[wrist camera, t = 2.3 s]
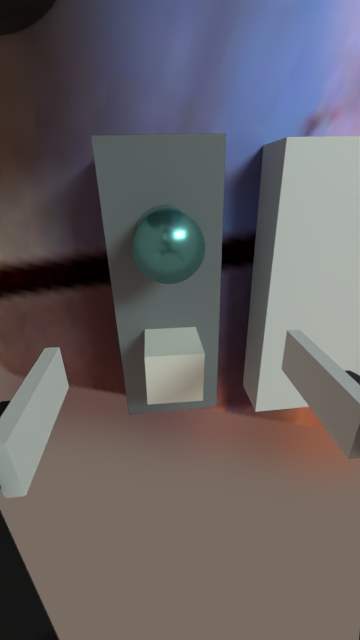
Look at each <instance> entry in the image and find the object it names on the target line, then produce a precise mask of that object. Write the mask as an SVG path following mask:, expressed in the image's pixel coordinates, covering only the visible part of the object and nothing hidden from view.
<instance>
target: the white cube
mask: <svg viewBox="0 0 360 640" xmlns="http://www.w3.org/2000/svg"><path fill="white" fill-rule="evenodd" d="M144 357H145V373H146V389H147V404H148V405H149V404H163V403H177V402H190V401H203V384H204V361H205V353H204V350H203V347H202V344H201V341H200V338H199V335H198V332H197V329H196V327H184V328H163V329H145V356H144Z"/></svg>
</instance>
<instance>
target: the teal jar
mask: <svg viewBox="0 0 360 640" xmlns="http://www.w3.org/2000/svg"><path fill="white" fill-rule="evenodd" d="M133 254H134V258H135V261H136V263H137V265H138V267H139V269H140V270H141V271H142V272H143V273H144V274H145V275H146V276H147V277H148V278H150V279H152V280H153V281H156V282H159V283H163V284H175V283H179V282H182V281H185V280H186V279H188V278H190V277H191V276H192V275H193V274H194V273H195V272H196V271H197V270H198V269H199V267H200V266H201V264H202V261H203V259H204V255H205V240H204V236H203V233H202V231H201V229H200V227H199V226H198V225H197V223H196V222H195V221H194V220H193V219H191V218H190V217H189V216H188V215H186V214H185V213H184V212H183V211H181V210H180V209H178V208H176V207H173V206H169V205H160V206H156V207H154V208H151V209H150V210H148V211H147V212H146V213H145V214H144V215H143V216H142V217H141V219H140V221H139V223H138V226H137V229H136V233H135V237H134V241H133Z"/></svg>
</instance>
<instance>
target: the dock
mask: <svg viewBox="0 0 360 640" xmlns="http://www.w3.org/2000/svg"><path fill="white" fill-rule="evenodd" d="M298 329H300V330H301V331H302V332H303V333H304V334H305V335H306V336H307V337H308V338H309V339H310V340H311V341H313V342H314V343H315V344H316V345H317V346H318V347H319V348H320V349H321V350H322V351H323V352H325V353H326V354H327V355H328V356H329V357H330V358H331V359H332V360H333V361H334V362H335V363H336V364H338V365H339V366H340V367H341V368H342V369H343V370H344V371H347V370H350V371H352V372H354V373H356V374H358V375H360V136H337V137H286V138H283V139H281V140H278V141H275V142H272V143H269V144H266V145H263V156H262V168H261V180H260V191H259V203H258V215H257V226H256V238H255V250H254V261H253V273H252V285H251V296H250V308H249V320H248V331H247V343H246V355H245V367H244V378H243V387H244V389H245V391H246V393H247V395H248V397H249V399H250V401H251V403H252V405H253V408H254V410H255V412H257V411H267V410H278V409H288V408H298V407H309V406H308V404H307V403H306V401H305V400H304V399H303V397H302V396H301V395H300V393H299V392H298V391H297V389H296V388H295V387H294V385H293V384H292V383H291V381H290V380H289V379H288V377H287V376H286V375H285V373H284V372H283V371H282V369H281V368H282V361H283V354H284V347H285V341H286V334H287V330H298Z"/></svg>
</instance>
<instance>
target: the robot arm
mask: <svg viewBox="0 0 360 640" xmlns="http://www.w3.org/2000/svg"><path fill="white" fill-rule="evenodd" d="M55 1H56V0H0V35H3V34H9V33H13V32H16V31H19V30H22V29H24V28H26V27H28V26H30V25H31V24H33V23H35V22H36V21H37V20H38V19H40V18H41V17H42V16H43V15H44V14H45V13H46V12H47V11H48V10H49V9H50V8H51V6H52V5H53V4H54V2H55ZM281 369H282V371H283V372H284V373H285V375H286V376H287V377H288V379H289V380H290V381H291V383H292V384H293V385H294V387H295V388H296V389H297V391H298V392H299V393H300V395H301V396H302V397H303V399H304V400H305V401H306V403H307V404H308V406H309V407H310V408H311V410H312V411H313V412H314V414H315V415H316V416H317V418H318V419H319V420H320V422H321V423H322V424H323V426H324V427H325V428H326V430H327V431H328V432H329V434H330V435H331V436H332V437H333V439H334V440H335V442H336V443H337V444H338V446H339V447H340V448H341V450H342V451H343V452H344V454H345V455H346V456H347V458H348V459H350V458H359V457H360V375H358V374H356V373H354V372H352V371H350V370H347V371H344V370H343V369H342V368H341V367H340V366H339V365H338V364H336V363H335V362H334V361H333V360H332V359H331V358H330V357H329V356H328V355H327V354H326V353H325V352H323V351H322V350H321V349H320V348H319V347H318V346H317V345H316V344H315V343H314V342H313V341H311V340H310V339H309V338H308V337H307V336H306V335H305V334H304V333H303V332H302V331H301V330H300V329H298V330H287V334H286V341H285V347H284V354H283V361H282V368H281ZM68 388H69V386H68V382H67V377H66V373H65V369H64V365H63V360H62V356H61V352H60V348H59V347H54V348H45V349H44V351H43V352H42V354H41V355H40V357H39V358H38V360H37V361H36V363H35V365H34V366H33V368H32V369H31V371H30V372H29V374H28V375H27V377H26V379H25V380H24V382H23V383H22V385H21V386H20V388H19V389H18V391H17V393H16V394H15V396H14V397H13V399H12V400H11V401H2V402H0V488H1V490H2V493H3V495H4V497H5V498H10V497H19V496H26V494H27V491H28V489H29V486H30V484H31V481H32V478H33V476H34V473H35V471H36V469H37V466H38V464H39V461H40V458H41V456H42V453H43V451H44V448H45V446H46V443H47V441H48V438H49V436H50V433H51V431H52V428H53V426H54V423H55V421H56V418H57V416H58V413H59V411H60V408H61V405H62V403H63V401H64V398H65V396H66V393H67V391H68ZM0 640H59V638H58V636H57V633H56V631H55V629H54V627H53V625H52V623H51V620H50V618H49V616H48V614H47V611H46V609H45V607H44V605H43V603H42V600H41V598H40V596H39V594H38V592H37V590H36V587H35V585H34V583H33V581H32V578H31V576H30V574H29V572H28V570H27V568H26V565H25V563H24V561H23V559H22V557H21V554H20V552H19V550H18V548H17V546H16V544H15V541H14V539H13V537H12V535H11V532H10V531H9V528H8V526H7V524H6V522H5V519H4V517H3V515H2V513H1V511H0ZM359 640H360V634H359Z"/></svg>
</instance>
